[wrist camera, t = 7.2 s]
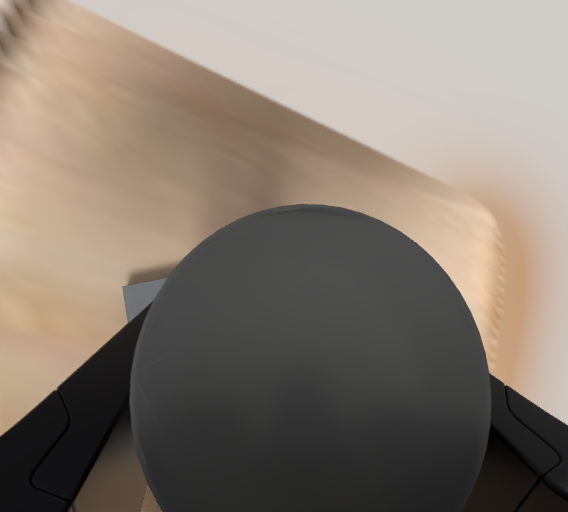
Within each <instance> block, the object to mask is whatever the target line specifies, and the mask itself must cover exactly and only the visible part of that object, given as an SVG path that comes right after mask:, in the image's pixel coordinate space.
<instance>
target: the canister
mask: <svg viewBox="0 0 568 512" xmlns="http://www.w3.org/2000/svg"><path fill="white" fill-rule="evenodd" d="M129 402H130V414H131V426H132V433H133V437H134V442H135V446H136V451H137V455H138V459H139V462H140V464H141V467H142V470H143V472H144V475H145V478H146V481H147V483H148V485H149V487H150V489H151V491H152V493H153V495H154V497H155V499H156V500H157V502H158V504H159V506H160V508H161V510H162V511H163V512H461V510H462V508H463V506H464V505H465V503H466V501H467V500H468V498H469V496H470V494H471V492H472V489H473V487H474V485H475V482H476V480H477V478H478V475H479V473H480V469H481V466H482V462H483V459H484V455H485V452H486V448H487V442H488V436H489V430H490V419H491V388H490V375H489V370H488V364H487V359H486V354H485V350H484V347H483V343H482V340H481V336H480V333H479V330H478V328H477V326H476V323H475V321H474V318H473V316H472V314H471V311H470V309H469V308H468V306H467V304H466V302H465V300H464V299H463V297H462V295H461V293H460V291H459V290H458V289H457V287H456V286H455V284H454V283H453V281H452V280H451V279H450V277H449V276H448V274H447V273H446V272H445V271H444V270H443V269H442V267H441V266H440V265H439V264H438V263H437V262H436V261H435V260H434V258H433V257H432V256H430V255H429V254H428V253H427V252H426V251H425V250H424V249H423V248H422V247H420V246H419V245H418V244H417V243H416V242H414V241H413V240H412V239H410V238H409V237H407V236H406V235H405V234H403V233H402V232H400V231H399V230H397V229H395V228H393V227H391V226H390V225H388V224H386V223H384V222H382V221H380V220H378V219H375V218H373V217H370V216H368V215H365V214H363V213H360V212H356V211H352V210H349V209H345V208H341V207H334V206H327V205H309V204H299V205H290V206H281V207H276V208H272V209H267V210H263V211H259V212H256V213H254V214H251V215H248V216H246V217H243V218H241V219H238V220H236V221H234V222H232V223H231V224H229V225H227V226H225V227H223V228H221V229H219V230H218V231H216V232H215V233H214V234H212V235H211V236H209V237H208V238H207V239H205V240H204V241H202V242H201V243H200V244H199V245H198V246H197V247H196V248H194V249H193V250H192V251H191V252H190V253H189V254H188V255H187V256H186V257H185V258H184V259H183V260H182V261H181V262H180V263H179V265H178V266H177V267H176V268H175V269H174V271H173V272H172V273H171V274H170V275H169V277H168V278H167V279H166V281H165V283H164V284H163V286H162V287H161V289H160V291H159V292H158V294H157V295H156V297H155V298H154V301H153V303H152V305H151V307H150V309H149V311H148V313H147V316H146V318H145V320H144V322H143V325H142V328H141V331H140V335H139V338H138V341H137V344H136V347H135V353H134V359H133V364H132V370H131V379H130V400H129Z"/></svg>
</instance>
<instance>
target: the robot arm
mask: <svg viewBox="0 0 568 512" xmlns="http://www.w3.org/2000/svg"><path fill="white" fill-rule="evenodd" d="M153 301H154V300H153ZM153 301H152V302H150V303H149V304H148V305H147V306H146V307H145V308H144V309H143V310H142V311H141V312H140V313H138V314H137V315H136V316H135V317H134V318H133V319H132V320H131V321H130V322H129V323H127V324H126V325H125V326H124V327H123V328H122V329H121V330H120V331H119V332H118V333H116V334H115V335H114V336H113V337H112V338H111V339H110V340H109V341H108V342H107V343H105V344H104V345H103V346H102V347H101V348H100V349H99V350H98V351H97V352H96V353H95V354H93V355H92V356H91V357H90V358H89V359H88V360H87V361H86V362H85V363H84V364H82V365H81V366H80V367H79V368H78V369H77V370H76V371H75V372H74V373H73V374H71V375H70V376H69V377H68V378H67V379H66V380H65V381H64V382H63V383H62V384H60V385H59V386H58V387H57V390H54V391H53V392H51V393H50V394H49V395H48V396H47V397H46V398H45V399H44V400H43V401H42V402H40V403H39V404H38V405H37V406H36V407H35V408H34V409H32V410H31V411H30V412H29V413H28V414H27V415H26V416H24V417H23V418H22V419H21V420H20V421H19V422H17V423H16V424H15V425H14V426H13V427H11V428H10V429H9V430H8V431H6V432H5V433H4V434H3V435H1V436H0V512H140V511H141V507H142V503H143V499H144V495H145V491H146V487H147V481H146V478H145V475H144V472H143V470H142V467H141V464H140V462H139V459H138V455H137V451H136V446H135V442H134V437H133V433H132V426H131V414H130V402H129V400H130V379H131V370H132V364H133V359H134V353H135V347H136V344H137V341H138V338H139V335H140V331H141V328H142V325H143V322H144V320H145V318H146V316H147V313H148V311H149V309H150V307H151V305H152V303H153ZM489 375H490V388H491V419H490V430H489V436H488V442H487V448H486V452H485V455H484V459H483V462H482V466H481V469H480V473H479V475H478V478H477V480H476V482H475V485H474V487H473V489H472V492H471V494H470V496H469V498H468V500H467V501H466V503H465V505H464V506H463V508H462V510H461V512H568V425H566V424H565V423H563V422H562V421H560V420H558V419H557V418H555V417H554V416H552V415H550V414H549V413H547V412H546V411H544V410H543V409H541V408H540V407H538V406H537V405H535V404H534V403H532V402H531V401H529V400H527V399H526V398H525V397H523V396H522V395H520V394H519V393H518V392H516V391H515V390H513V389H512V388H510V387H509V386H507V385H506V386H505V385H504V383H503V382H501V381H500V380H498V379H497V378H496V377H494V376H493V375H491V374H490V373H489Z"/></svg>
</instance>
